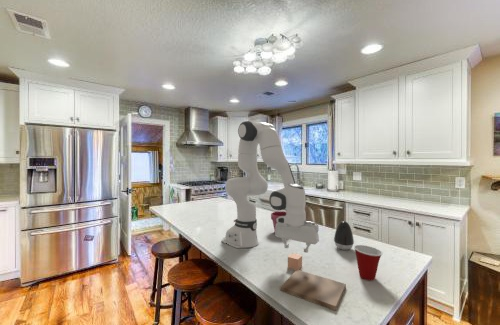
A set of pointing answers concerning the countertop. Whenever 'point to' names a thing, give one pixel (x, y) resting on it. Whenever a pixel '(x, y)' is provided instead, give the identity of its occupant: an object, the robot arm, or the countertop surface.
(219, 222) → the countertop surface
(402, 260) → the countertop surface
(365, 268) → the plastic cup
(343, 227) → the black glossy tall piece
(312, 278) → the walnut board
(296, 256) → the cube
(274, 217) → the plant pot
